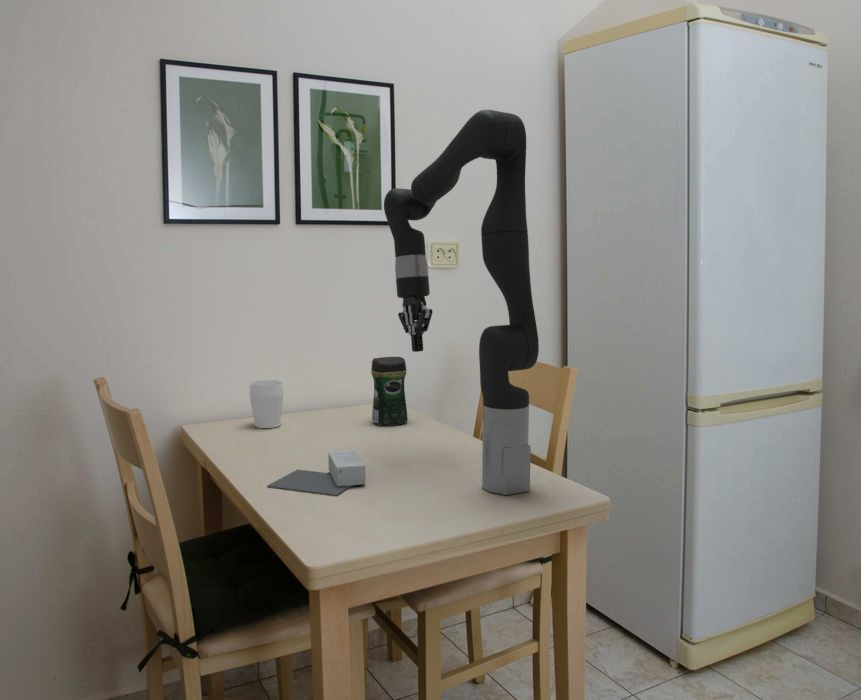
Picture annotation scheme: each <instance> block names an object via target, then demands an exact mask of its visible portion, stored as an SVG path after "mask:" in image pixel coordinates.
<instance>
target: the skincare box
mask: <svg viewBox="0 0 861 700" xmlns="http://www.w3.org/2000/svg"><path fill="white" fill-rule="evenodd" d="M327 456H328V460H327V461H328V473H330V474H331V475H332V477H333V479H334V481H335V483H336V485H337V487H341V486H352V485H353V486H360V485H361V486H362V485H366V464H365V463H364V461H363V460H362V458H360V456H359V454H358V453H357V451H356V450H353V449H352V450H342V451H341V450H340V451H338V450H337V451H329V452H328V453H327ZM353 486H352V487H353Z"/></svg>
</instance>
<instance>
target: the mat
mask: <svg viewBox="0 0 861 700" xmlns="http://www.w3.org/2000/svg"><path fill="white" fill-rule="evenodd" d="M267 486H268V487H267ZM353 486H354V485H352V486H341V487H337V485H336V483H335V481H334V479H333V477H332V475H331V474H330V472H323V471H322V472H321V471H320V472H319V471H313V470H304V469H296V470H294V471H292V472H290V473H288V474H286V475H284V476H282V477H280V478H279V479H277V480H275V481H273V482H271V483H269V484H268V485H266V487H267V488H270V487H274V488H273V489H278V488H282V489H281V490H285V489H291V490H290V491H293V490H299V491H298V492H300V491H306V492H305V493H308V492H312V493H311V494H316V493H319V494H318V495H323V494H325V496H331V495H333V496H332V497H338V496H340V495H341V494H343V493H344V492H346V491H347V490H348V488H349V489H350V488H351V487H353ZM345 490H346V491H345ZM342 492H343V493H342ZM339 494H340V495H339Z"/></svg>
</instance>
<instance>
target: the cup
mask: <svg viewBox="0 0 861 700" xmlns="http://www.w3.org/2000/svg"><path fill="white" fill-rule="evenodd" d="M283 384H284V382H283V381H282V380H276V379H263V380H261V379H260V380H255V381H251V382H249V398H250V403H251V404H250V405H251V410H252V415H253V420H254V426H256V427H255V428H257V427H258V428H257V429H260V428H272V429H275V428H274V427H276V428H279V427H280V426H281V422H282V411H283V403H284V396H285V395H284V393H285V391H284V385H283ZM278 426H279V427H278Z"/></svg>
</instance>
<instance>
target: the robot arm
mask: <svg viewBox="0 0 861 700" xmlns="http://www.w3.org/2000/svg"><path fill="white" fill-rule="evenodd" d="M479 158H481V159H485V160H486V159H487V160H495V164H496V165H495V166H496V187H495V192H494V194H493V197H492V199H491V201H490V203H489V206H488V207H487V209H486V212H485V214H484V216H483V219H482V223H481V230H480V235H481V250H482V252H481V253H482V260H483V263H484V266H485V268H486V270H487V271H488V273H489V275H490V276H491V279H493V281H494V283H495V284H496V286H497V287H498V289H499V291H500V292H501V293H502V296H503V299H504V301H505V304H506V307H507V311H508V312H507V313H508V319H509V324H503V325H502V324H501V325H492V326H491V325H490V326H488V327H486V328H484V330H483V331H482V333H481V336H480V338H479V344H478V347H479V348H478V356H479V357H478V359H479V360H478V361H479V385H480V389H481V390H480V391H481V393H482V451H481V452H482V456H481V457H482V460H481V461H482V463H481V465H482V467H481V468H482V469H481V470H482V473H481V475H482V476H481V477H482V479H481V480H482V481H481V482H482V486H481V487H482V488H483V490H485V491H487V492H489V493H495V494H499V495H502V496H509V495H515V494H520V493H526V492H530V491H531V444H529V428H530V426H529V423H530V422H529V421H530V420H529V419H530V393H529V391H528V390H526V389H525V388H522V387H520V386H515V385H514V384H512V383H511V382H510V379H509V372H515V371H526V370H530V369H532V368H533V367H535V365H536V363H537V361H538V358H539V351H540V349H539V348H540V347H539V346H540V345H539V344H540V343H539V342H540V341H539V333H538V327H537V326H538V325H537V321H536V320H537V319H536V313H535V308H534V307H535V306H534V302H533V295H532V284H531V271H530V246H529V245H530V244H529V232H528V221H527V207H526V205H527V203H526V200H527V199H526V166H527V165H526V163H527V132H526V128H525V124H524V122H523V119H521V117H520V116H519V115H516V114H514V113H510V112H505V111H498V110H493V109H482V110H479V111H477V112H476V113H474V114H473V115H472V116H471V117H470V118H469V119H468V120H467V121H466V123H465V124H464V125H463V126H462V127H461V129H460V130H459V132H457V134H456V135H455V136H454V138H452V139H451V141H450V143H449V144H448V145H447V146H446V147H445V149H444V150H443V151H442V153H441V154H440V155H439V156H438V157H437V158H436V159H435V160H434V161H433V162H432V163H431V164H429V165H428V166H427V167H425V168H424V169H423V170H422V171H420V173H418V174H417V176H415V177H414V179H413V180H412V182H411V185H410V189H409V188H399V187H398V188H397V187H395V188H391V189H390V190H389V191H388V192H387V193H386V195H385V197H384V199H383V201H384V202H383V210H384V215H385V218H386V220H387V224H388V227H389V228H390V233H391V234H392V238H393V241H394V242H393V243H394V255H395V256H394V258H395V263H394V272H395V283H396V284H395V285H396V296H397V298H399V299H402V308H403V310H402V311H400V312H398V314H397V316H398V319H399V321H400V323H401V325H402V328H403V330H404V332H405V333H406V334H408V335H409V336H410V341H411V343H410V344H411V350H412V352H413V353H417V352H423V351H424V342H423V340H424V339H423V335H424V334H425V332H427V331H428V329H429V326H430V323H431V319H432V315H433V309H432V308H428V307H427V301H426V298H425V297H428V296H429V295H430V293H431V292H430V281H429V280H430V278H429V266H428V259H427V256H426V255H427V254H426V242H425V235H424V233H423V232H422V231H421V230H418V229H415V228H413V227H412V226H411V225H410V222H409V221H420V220H422V219H425V218H426V217H428V215H429V214H430V213H431V211H432V210H433V208H434V207H435V205H436V203H437V202H438V201H439V200H440V199H441V198H443V197H445V196H446V195H447V194H449V192H451V191H452V190H453V189H454V187H455V186H456V185H457V183H458V182H459V180H460V175H461V171H462V169H463V168H464V166H466V165H467V164H469V163H470V162H473V161H474V160H477V159H479Z"/></svg>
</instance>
